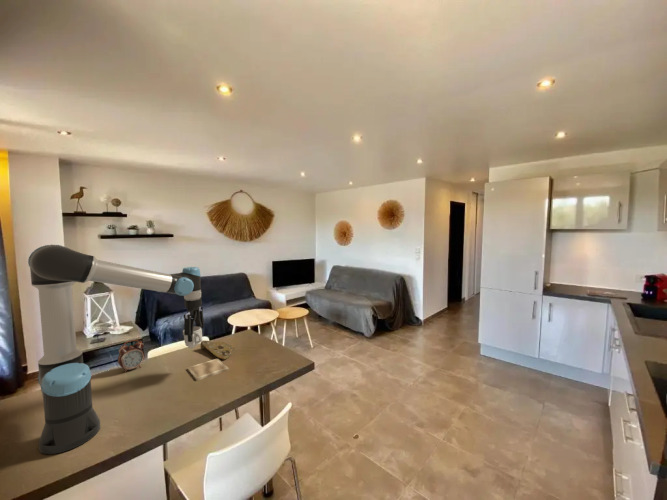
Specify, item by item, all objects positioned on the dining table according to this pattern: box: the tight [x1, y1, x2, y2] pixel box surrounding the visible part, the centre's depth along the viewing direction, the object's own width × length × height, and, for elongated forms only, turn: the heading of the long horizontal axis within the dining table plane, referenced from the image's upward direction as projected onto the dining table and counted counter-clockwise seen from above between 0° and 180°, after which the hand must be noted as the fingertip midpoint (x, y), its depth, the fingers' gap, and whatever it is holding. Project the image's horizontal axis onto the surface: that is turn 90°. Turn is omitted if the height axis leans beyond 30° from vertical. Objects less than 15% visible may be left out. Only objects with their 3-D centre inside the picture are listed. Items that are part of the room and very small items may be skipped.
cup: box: [182, 325, 203, 347], centre depth 138 cm, size 11×8×8 cm
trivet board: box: [187, 357, 229, 381], centre depth 141 cm, size 15×15×1 cm
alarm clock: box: [117, 339, 146, 373], centre depth 142 cm, size 11×5×15 cm, turn 143°
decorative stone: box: [200, 340, 235, 360], centre depth 162 cm, size 25×15×5 cm, turn 47°
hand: (195, 344), depth 139 cm, fingers closed on cup, 7 cm apart
